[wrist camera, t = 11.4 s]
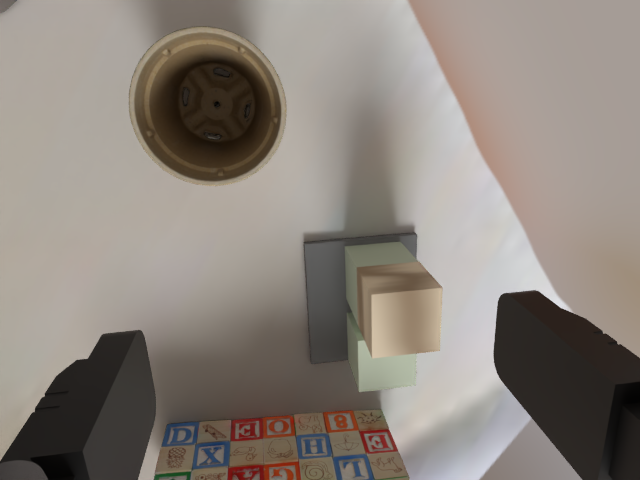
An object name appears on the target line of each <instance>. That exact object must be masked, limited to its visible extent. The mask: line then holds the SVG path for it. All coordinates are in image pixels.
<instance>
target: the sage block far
mask: <svg viewBox="0 0 640 480" xmlns="http://www.w3.org/2000/svg"><path fill="white" fill-rule="evenodd" d="M347 339H348V361H349V364H350V367H351V370H352V373H353V376H354V379H355V382H356V385H357V388H358V391H359V392H366V391H374V390H382V389H390V388H399V387H407V386H415V385H416V354H417V353H416V354H407V355H398V356H390V357H381V358H372V357H371V355H370V352H369V350H368V348H367V345H366V343H365V341H364V338H363V336H362V333H361V331H360V329H359V326H358V325H357V322H356V320H355V318H354V315H353V313H352V312H351V313H347Z"/></svg>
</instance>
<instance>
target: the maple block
mask: <svg viewBox="0 0 640 480" xmlns="http://www.w3.org/2000/svg"><path fill="white" fill-rule="evenodd" d="M441 311H442V287H441V286H440V284H439V283H438V282H437V281H436V280H435V279H434V278H433V277H432V275H431V274H430V273H429V272H428V271H427V270H426V269H425V268H424V267H423V265H422V264H421V263H420V262H408V263H398V264H387V265H376V266H365V267H357V315H358V326H359V329H360V331H361V333H362V336H363V338H364V341H365V343H366V345H367V348H368V350H369V352H370V355H371V357H372V358H381V357H390V356H398V355H407V354H416V353H425V352H434V351H440V334H441Z"/></svg>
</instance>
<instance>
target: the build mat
mask: <svg viewBox="0 0 640 480" xmlns="http://www.w3.org/2000/svg"><path fill="white" fill-rule="evenodd" d="M389 242H401V243H402V244H403V245H404V246H405V247H406V248H407V249H408V251H409V252H410V253H411V254H412V255H413V256H414V257H415V258H416V253H417V234H416V233H405V234H393V235H382V236H370V237H358V238H347V239H335V240H324V241H312V242H304V253H305V269H306V286H307V303H308V320H309V337H310V353H311V363H312V364H317V363H326V362H334V361H343V360H348V339H347V313H351V312H352V311H351V308H350V306H349V303H348V301H347V299H346V272H345V246H355V245H366V244H378V243H389Z"/></svg>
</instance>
